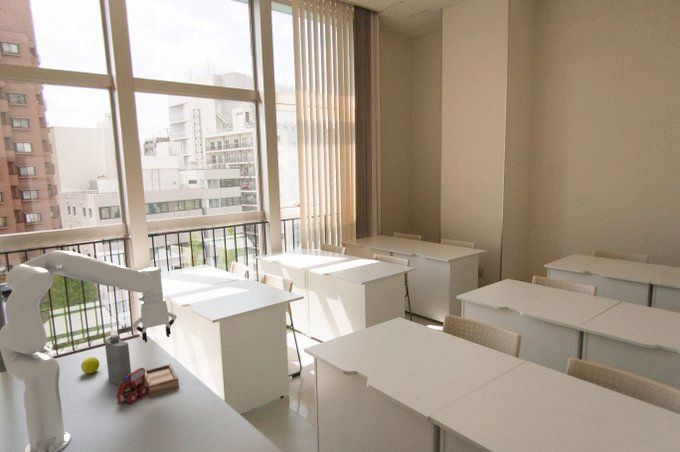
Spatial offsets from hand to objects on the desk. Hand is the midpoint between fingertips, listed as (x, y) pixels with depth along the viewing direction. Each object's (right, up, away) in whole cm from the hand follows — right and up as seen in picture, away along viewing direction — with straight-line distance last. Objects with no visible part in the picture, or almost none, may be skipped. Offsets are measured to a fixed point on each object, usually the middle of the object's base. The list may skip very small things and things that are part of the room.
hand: (156, 338), depth 174 cm
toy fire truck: (-6, -22, -7) cm, 24 cm away
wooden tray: (+1, -20, +3) cm, 20 cm away
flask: (-20, -20, +8) cm, 29 cm away
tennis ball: (-37, -20, +16) cm, 44 cm away
